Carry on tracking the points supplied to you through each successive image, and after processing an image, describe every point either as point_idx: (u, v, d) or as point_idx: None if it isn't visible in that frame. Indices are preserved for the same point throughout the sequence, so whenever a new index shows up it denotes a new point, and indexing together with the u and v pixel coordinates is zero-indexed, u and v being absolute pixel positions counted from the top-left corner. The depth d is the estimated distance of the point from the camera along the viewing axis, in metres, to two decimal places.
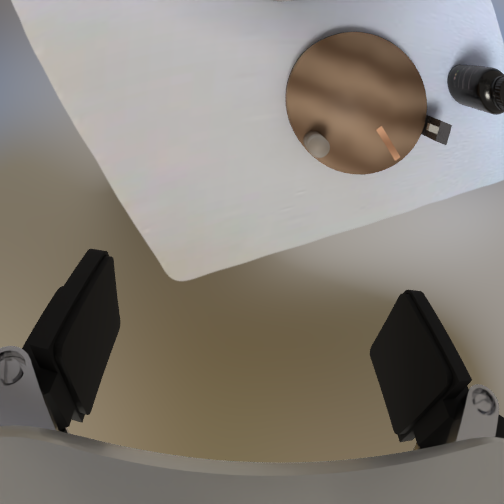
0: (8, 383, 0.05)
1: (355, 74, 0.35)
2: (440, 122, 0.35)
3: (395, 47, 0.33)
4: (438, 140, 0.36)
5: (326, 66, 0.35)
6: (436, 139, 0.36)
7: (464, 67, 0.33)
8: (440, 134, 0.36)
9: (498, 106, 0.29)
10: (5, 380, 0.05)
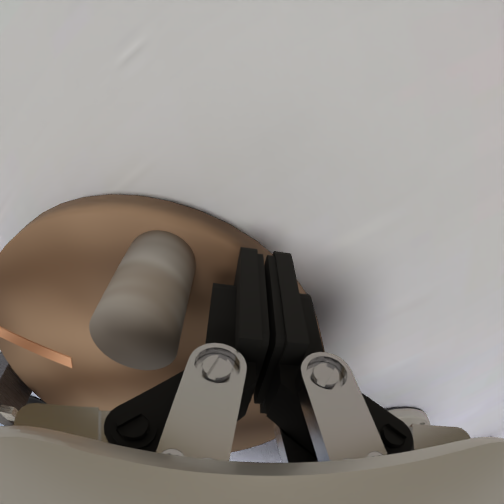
0: (209, 378, 0.06)
1: None
2: None
3: None
4: None
5: None
6: None
7: None
8: None
9: None
10: (206, 372, 0.06)
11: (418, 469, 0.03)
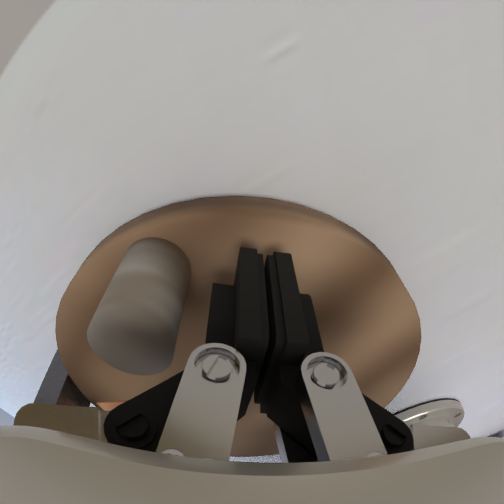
0: (209, 379, 0.06)
1: None
2: None
3: None
4: None
5: (361, 349, 0.14)
6: None
7: None
8: None
9: None
10: (206, 372, 0.06)
11: (418, 469, 0.03)
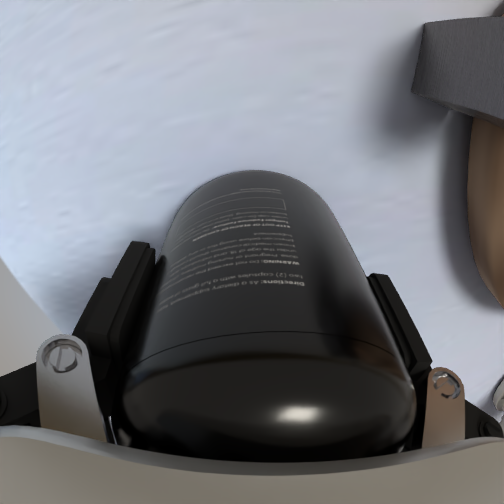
0: (60, 371, 0.05)
1: None
2: None
3: None
4: None
5: None
6: None
7: None
8: None
9: None
10: (57, 366, 0.06)
11: (418, 469, 0.03)
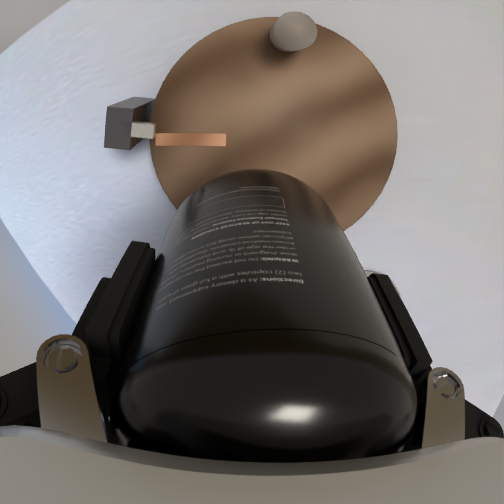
0: (60, 371, 0.05)
1: (323, 166, 0.25)
2: (129, 146, 0.20)
3: None
4: (126, 111, 0.19)
5: (362, 140, 0.24)
6: (131, 111, 0.19)
7: None
8: (125, 123, 0.19)
9: None
10: (57, 366, 0.06)
11: (418, 469, 0.03)
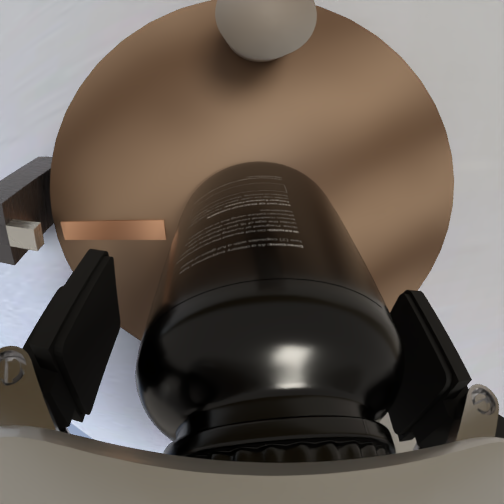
0: (8, 383, 0.05)
1: None
2: (14, 258, 0.11)
3: None
4: None
5: (398, 215, 0.14)
6: (0, 208, 0.10)
7: None
8: None
9: (358, 441, 0.04)
10: (6, 380, 0.05)
11: (418, 469, 0.03)
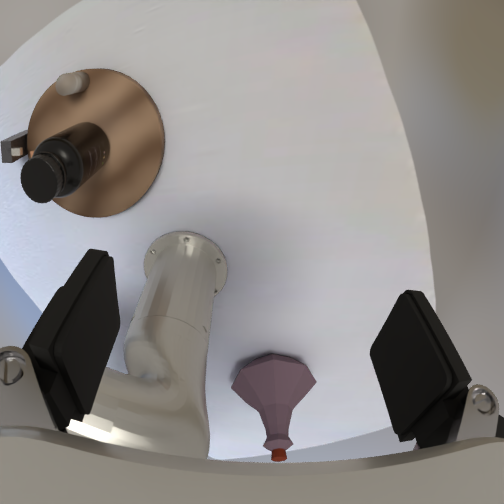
0: (8, 383, 0.05)
1: (114, 156, 0.36)
2: (12, 160, 0.32)
3: (121, 209, 0.40)
4: (8, 143, 0.30)
5: (134, 134, 0.35)
6: (10, 142, 0.31)
7: (95, 172, 0.34)
8: (8, 149, 0.31)
9: (49, 154, 0.25)
10: (5, 380, 0.05)
11: (418, 469, 0.03)
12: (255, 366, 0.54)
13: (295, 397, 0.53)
